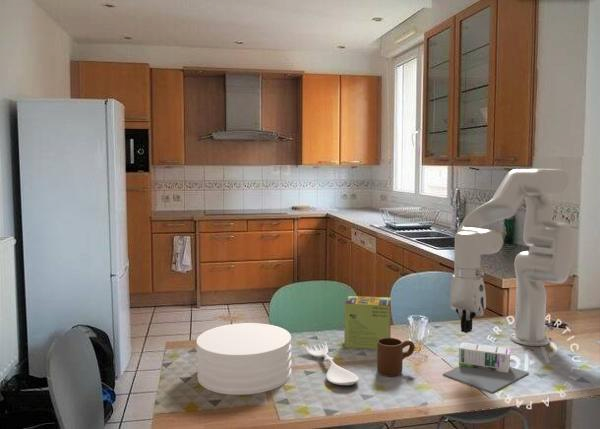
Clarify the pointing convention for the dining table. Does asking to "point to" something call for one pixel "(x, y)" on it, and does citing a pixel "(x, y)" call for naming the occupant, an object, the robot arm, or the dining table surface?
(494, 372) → the rubber mat
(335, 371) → the spoon
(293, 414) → the dining table surface
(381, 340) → the mug
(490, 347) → the syrup box
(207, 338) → the plate stack
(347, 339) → the protein box
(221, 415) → the dining table surface
